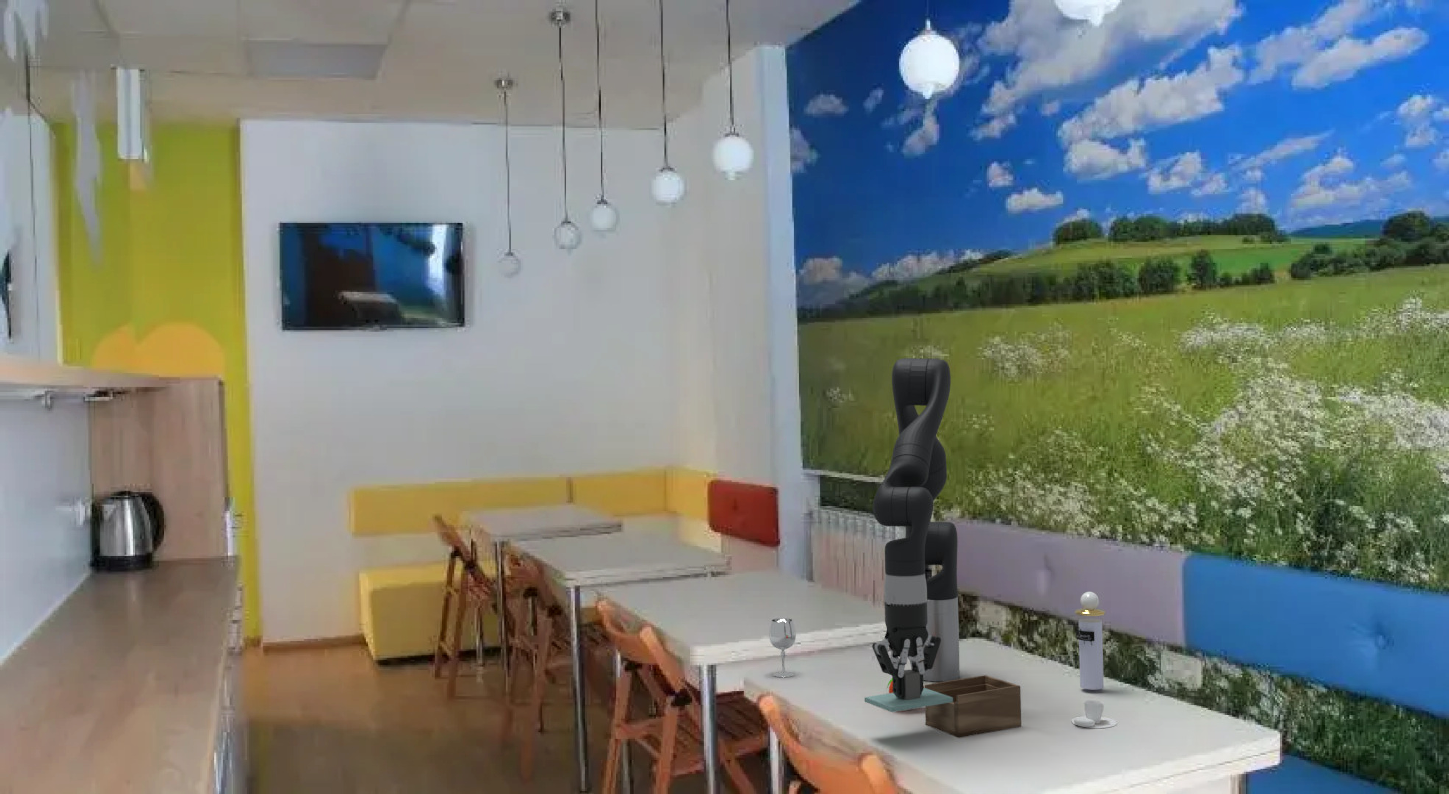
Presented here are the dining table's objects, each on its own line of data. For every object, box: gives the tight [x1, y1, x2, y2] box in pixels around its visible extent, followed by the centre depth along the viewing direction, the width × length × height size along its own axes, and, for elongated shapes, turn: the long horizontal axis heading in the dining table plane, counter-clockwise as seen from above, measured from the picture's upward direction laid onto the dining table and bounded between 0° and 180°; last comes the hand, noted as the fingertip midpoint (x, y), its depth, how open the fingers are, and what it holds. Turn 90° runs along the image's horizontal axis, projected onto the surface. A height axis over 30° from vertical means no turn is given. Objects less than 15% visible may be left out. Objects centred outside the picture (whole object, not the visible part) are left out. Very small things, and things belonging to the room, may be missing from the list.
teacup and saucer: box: [1071, 699, 1117, 729], centre depth 225 cm, size 9×8×4 cm
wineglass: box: [768, 617, 797, 678], centre depth 269 cm, size 6×6×12 cm
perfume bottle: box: [1074, 591, 1106, 691], centre depth 248 cm, size 6×6×20 cm
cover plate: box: [864, 669, 953, 713], centre depth 218 cm, size 8×13×5 cm, turn 117°
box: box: [924, 674, 1022, 739], centre depth 225 cm, size 10×14×7 cm
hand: (908, 695), depth 218 cm, fingers closed on cover plate, 3 cm apart
